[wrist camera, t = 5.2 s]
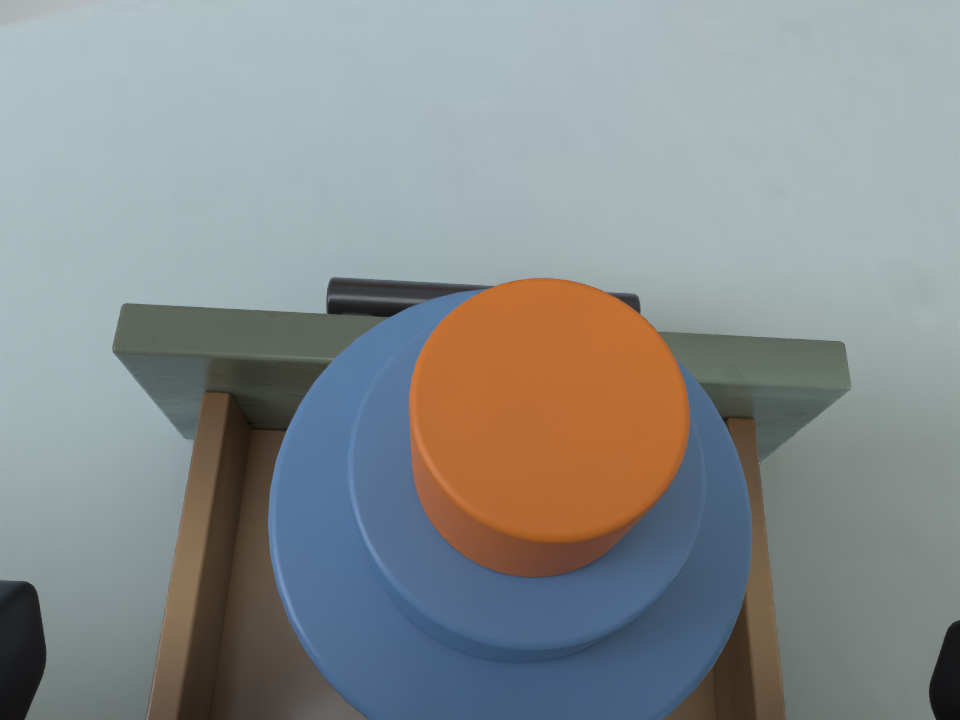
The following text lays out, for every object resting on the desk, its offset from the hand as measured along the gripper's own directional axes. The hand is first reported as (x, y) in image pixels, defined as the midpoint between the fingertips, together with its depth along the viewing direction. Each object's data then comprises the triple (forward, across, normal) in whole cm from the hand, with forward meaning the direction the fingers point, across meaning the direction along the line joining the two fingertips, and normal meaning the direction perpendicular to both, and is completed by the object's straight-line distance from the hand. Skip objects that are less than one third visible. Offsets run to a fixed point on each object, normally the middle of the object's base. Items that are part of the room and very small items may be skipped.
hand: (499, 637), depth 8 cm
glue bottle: (+6, 0, +4) cm, 7 cm away
